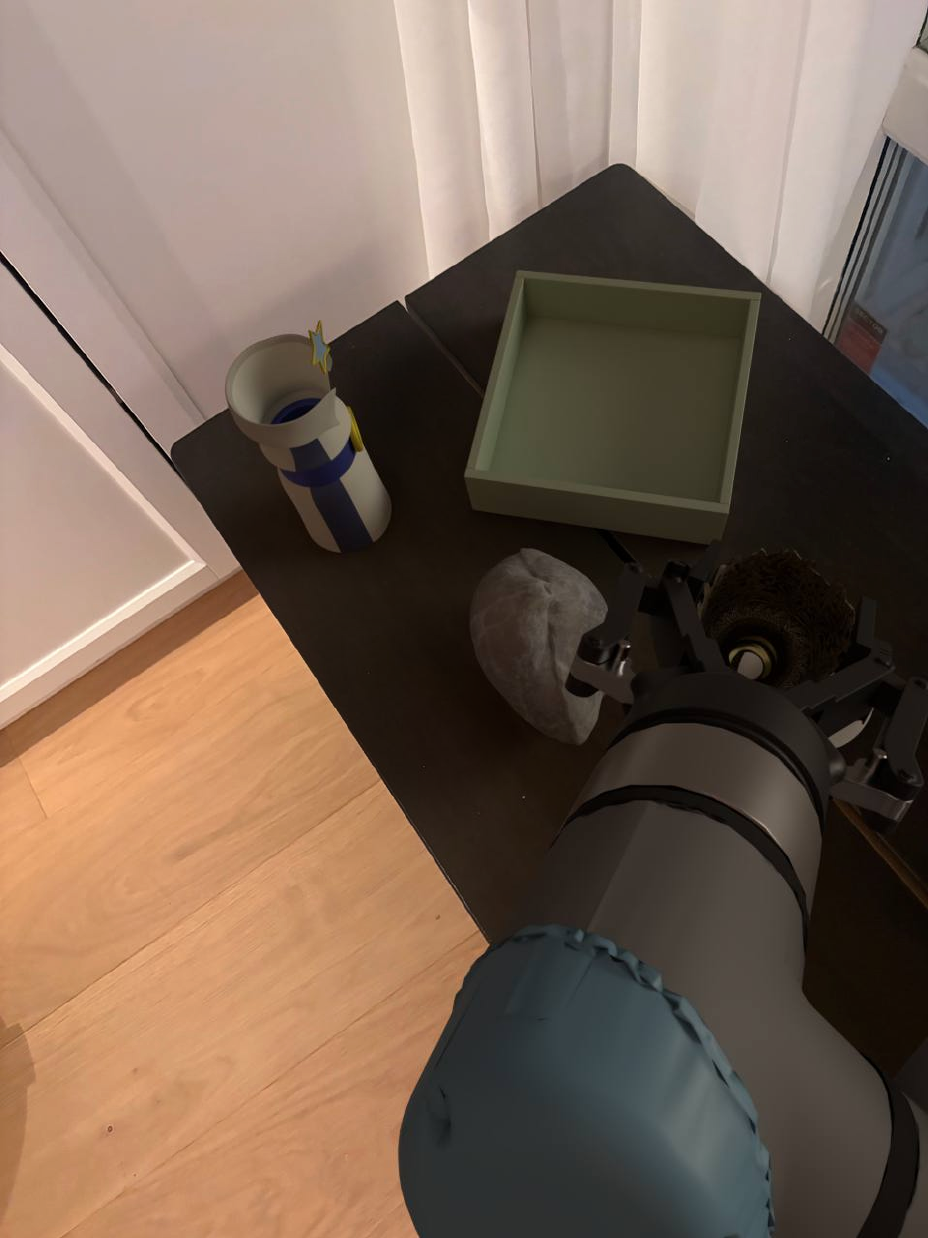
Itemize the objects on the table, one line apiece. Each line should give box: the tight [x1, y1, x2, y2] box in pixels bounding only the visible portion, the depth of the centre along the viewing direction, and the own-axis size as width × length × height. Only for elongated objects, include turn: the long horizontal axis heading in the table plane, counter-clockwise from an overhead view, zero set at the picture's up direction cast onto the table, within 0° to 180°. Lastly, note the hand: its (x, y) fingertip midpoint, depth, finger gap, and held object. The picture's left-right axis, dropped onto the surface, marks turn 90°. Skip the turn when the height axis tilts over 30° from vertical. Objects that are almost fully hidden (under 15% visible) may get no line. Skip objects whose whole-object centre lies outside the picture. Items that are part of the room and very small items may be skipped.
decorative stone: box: [468, 547, 609, 747], centre depth 65 cm, size 15×10×15 cm
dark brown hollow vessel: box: [696, 547, 855, 691], centre depth 48 cm, size 8×7×8 cm
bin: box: [463, 269, 762, 546], centre depth 76 cm, size 21×21×6 cm
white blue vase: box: [224, 319, 393, 554], centre depth 68 cm, size 8×9×25 cm
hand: (782, 590), depth 49 cm, fingers closed on dark brown hollow vessel, 7 cm apart
